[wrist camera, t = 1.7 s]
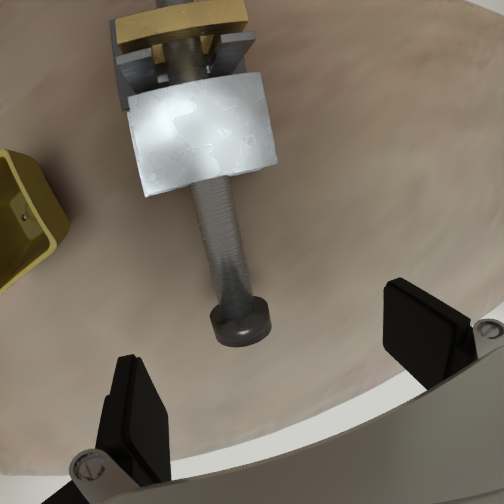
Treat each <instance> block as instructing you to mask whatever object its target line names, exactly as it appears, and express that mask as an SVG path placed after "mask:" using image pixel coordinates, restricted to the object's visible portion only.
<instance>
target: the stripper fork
mask: <svg viewBox="0 0 504 504" xmlns="http://www.w3.org/2000/svg"><path fill="white" fill-rule="evenodd" d="M255 40H256V37H255V33H254V32H243V33H233V34H224V35H220V38H219V40H218V43H217V45H216V48H215V51H214V53H213V56H212V59H211V61H210V64H209V66H208V67H206V68H207V73H208V78H209V79H210V78H216V77H222V76H228V75H231V74H232V73H233V71H234V70H235V68H236V67H237V65H238V64H239V63H240V61H241V60H242V58H243V57H244V55H245V54H246V53H247V51H248V50H249V48H250V47H251V46H252V44H253V43H254V41H255ZM116 60H117V66H118V67H119V69H120V70H121V72H122V73H123V75H124V77H125V78H126V80H127V81H128V83H129V84H130V86H131V87H132V89H133V90H134V92H135V94H136V95H138V94H141V93H145V92H149V91H153V90H157V89H161V88H165V87H170V86H169V80H168V75H162V76H158V77H157V73H156V69H155V65H154V61H153V56H152V52H151V48H147V49H143V50H139V51H135V52H132V53H128V54H124V55H121V56H117V57H116Z"/></svg>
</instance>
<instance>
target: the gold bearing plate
mask: <svg viewBox="0 0 504 504" xmlns="http://www.w3.org/2000/svg"><path fill="white" fill-rule="evenodd" d="M248 21H249V20H248V16H247V12H246V7H245V3H244V0H207V1H200V2H193V3H186V4H180V5H174V6H169V7H164V8H159V9H154V10H150V11H145V12H141V13H137V14H133V15H129V16H125V17H122V18H118V19H115V26H116V35H117V44H118V46H119V48H120V50H121V52H122V54H123V55H124V54H128V53H132V52H135V51H139V50H143V49H147V48H151V52H152V56H153V61H154V65H155V69H156V70H161V69H165V68H166V64H165V58H164V52H163V46H162V44H163V43H168V42H173V41H178V40H183V39H188V38H194V37H200V38H201V43H202V48H203V53H204V58H205V61H206V60H211V59H212V56H213V53H214V51H215V48H216V45H217V43H218V40H219V38H220V35H224V34H233V33H242V31H243V29H244V28H245V26H246V24H247V22H248Z"/></svg>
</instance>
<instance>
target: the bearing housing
mask: <svg viewBox="0 0 504 504" xmlns="http://www.w3.org/2000/svg"><path fill="white" fill-rule="evenodd" d="M128 103H129V108H130V112H127V116H128V121H129V127H130V132H131V137H132V142H133V146H134V151H135V156H136V160H137V165H138V169H139V174H140V178H141V182H142V186H143V191H144V195H145V197H148V196H152V195H155V194H159V193H163V192H167V191H171V190H175V189H178V188H182V187H186V186H190V184H189V183H193V182H197V181H202V180H206V179H210V178H214V177H219V176H223V175H228V177H229V176H234V175H239V174H243V173H248V172H253V171H258V170H262V167H266V166H272V165H277V164H278V161H277V155H276V150H275V145H274V139H273V134H272V129H271V124H270V119H269V113H268V108H267V103H266V99H265V94H264V89H263V84H262V79H261V75H260V72H251V73H243V74H235V75H228V76H222V77H216V78H210V79H204V80H199V81H193V82H188V83H184V84H179V85H174V86H170V87H165V88H161V89H157V90H153V91H149V92H145V93H141V94H138V95H134V96H130V97H128Z"/></svg>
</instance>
